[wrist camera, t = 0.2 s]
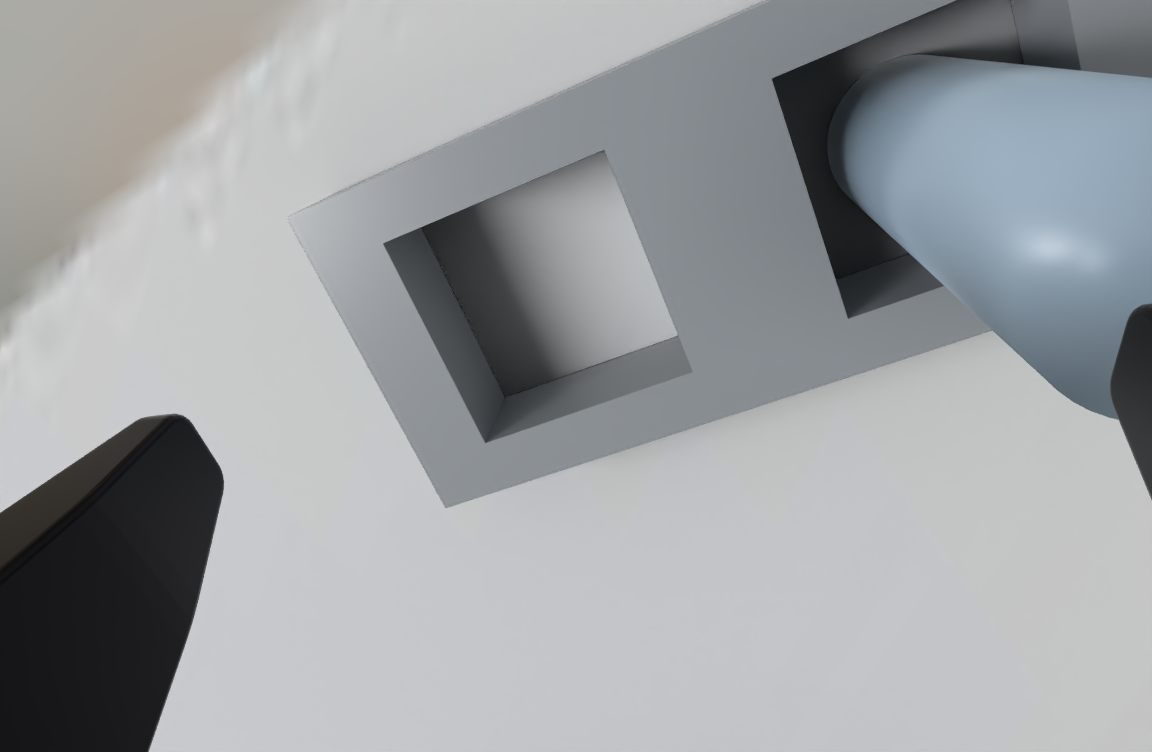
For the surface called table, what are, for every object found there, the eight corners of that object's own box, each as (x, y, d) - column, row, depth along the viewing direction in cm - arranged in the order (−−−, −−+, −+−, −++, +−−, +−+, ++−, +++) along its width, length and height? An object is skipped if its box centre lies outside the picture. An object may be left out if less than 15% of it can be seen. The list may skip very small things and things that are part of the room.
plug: (918, 242, 22) (1195, 477, 10) (796, 165, 21) (944, 321, 10) (1024, 108, 20) (1483, 212, 9) (894, 22, 20) (1203, 14, 8)
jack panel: (1081, -142, 18) (1155, -173, 15) (1145, 227, 21) (1217, 257, 18) (331, 195, 23) (286, 217, 20) (468, 457, 26) (445, 508, 23)
